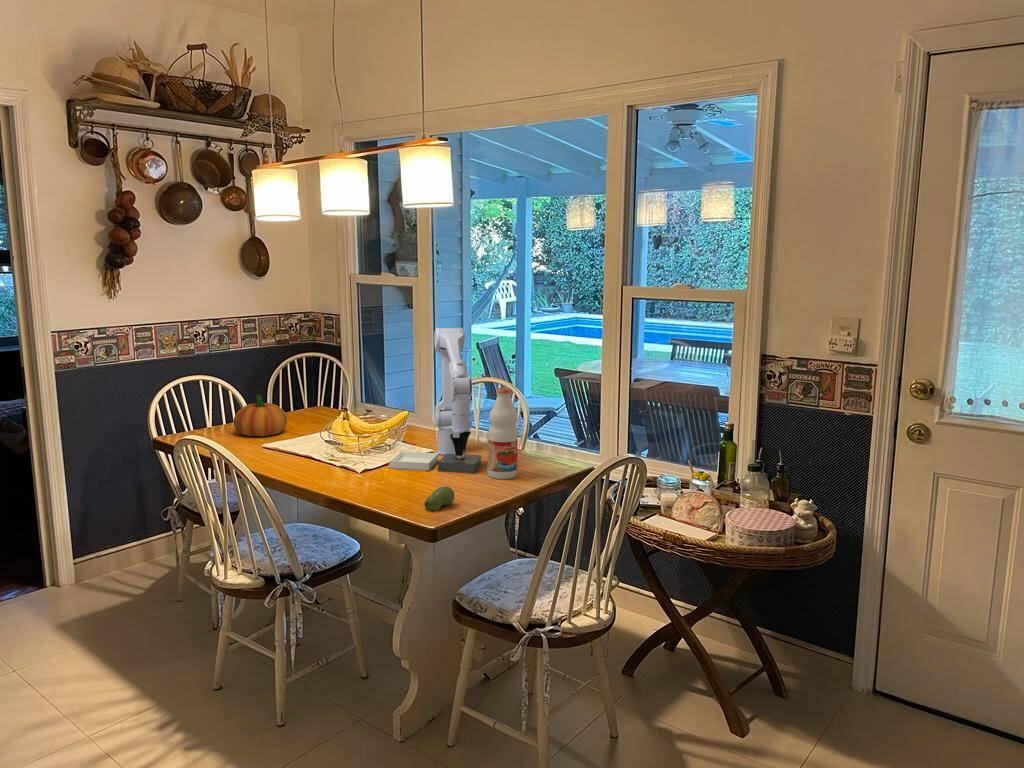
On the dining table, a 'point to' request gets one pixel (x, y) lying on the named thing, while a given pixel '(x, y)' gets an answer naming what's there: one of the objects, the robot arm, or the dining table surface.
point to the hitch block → (459, 463)
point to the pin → (460, 457)
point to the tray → (413, 461)
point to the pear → (439, 498)
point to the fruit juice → (502, 437)
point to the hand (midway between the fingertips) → (460, 454)
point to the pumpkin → (260, 419)
